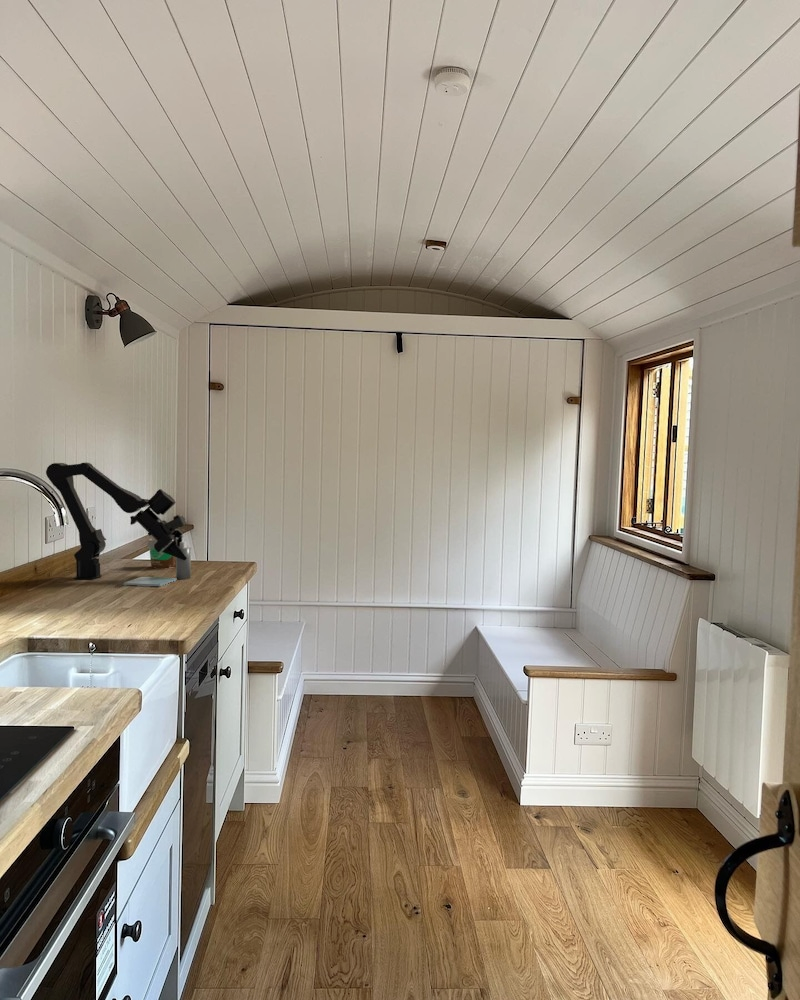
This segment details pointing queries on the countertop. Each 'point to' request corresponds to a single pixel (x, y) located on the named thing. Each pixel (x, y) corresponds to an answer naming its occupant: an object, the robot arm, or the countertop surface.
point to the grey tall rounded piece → (184, 563)
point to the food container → (160, 557)
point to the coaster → (150, 581)
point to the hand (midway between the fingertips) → (187, 558)
